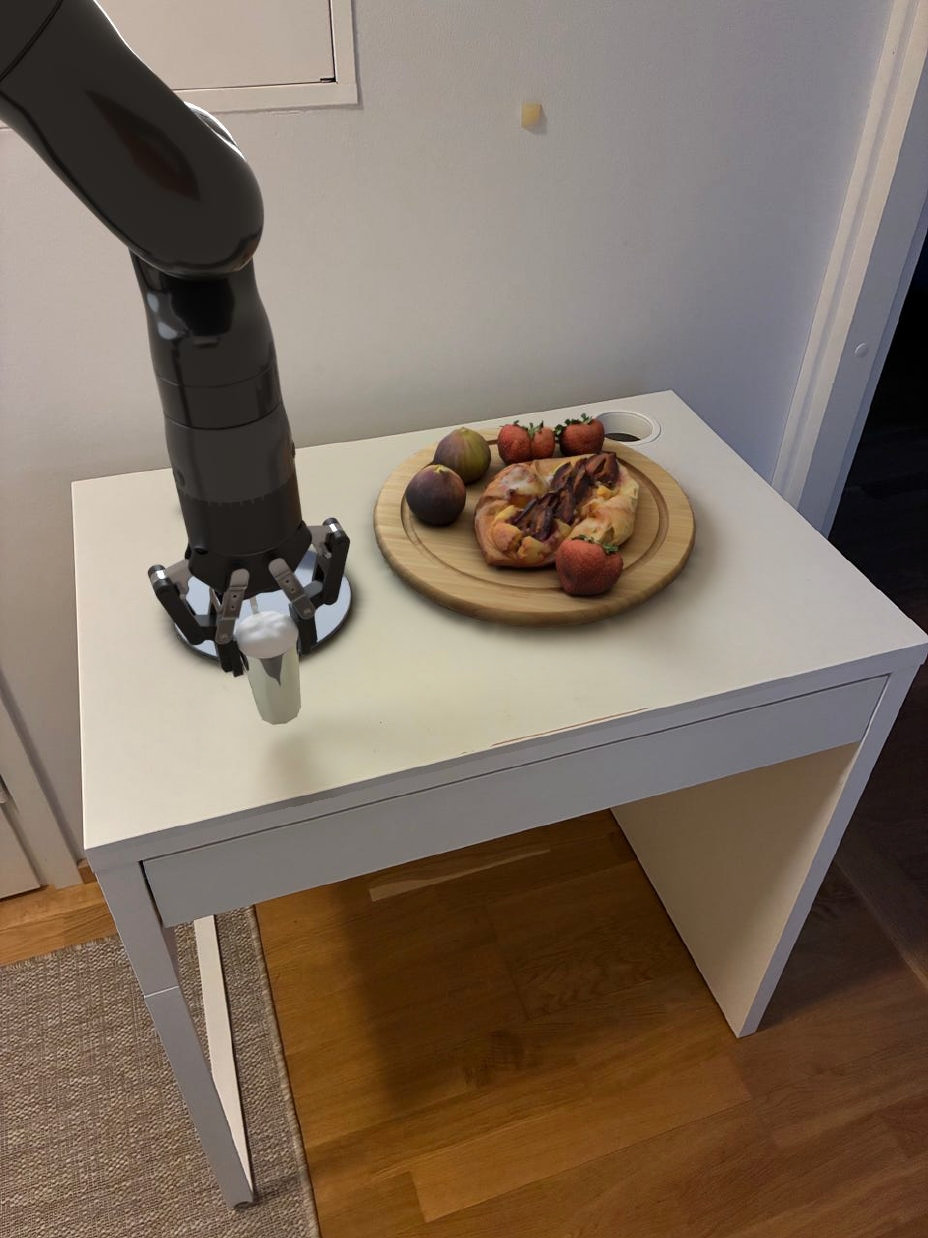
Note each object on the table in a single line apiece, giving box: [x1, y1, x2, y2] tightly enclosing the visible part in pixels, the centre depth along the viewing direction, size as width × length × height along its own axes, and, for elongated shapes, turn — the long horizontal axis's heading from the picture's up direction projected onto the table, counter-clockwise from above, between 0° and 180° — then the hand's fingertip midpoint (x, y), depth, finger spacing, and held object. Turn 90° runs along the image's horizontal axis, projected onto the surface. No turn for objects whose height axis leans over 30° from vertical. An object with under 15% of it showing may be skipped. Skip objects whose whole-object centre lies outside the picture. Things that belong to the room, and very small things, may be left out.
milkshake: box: [235, 596, 302, 726], centre depth 72 cm, size 4×5×10 cm
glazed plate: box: [173, 549, 352, 665], centre depth 87 cm, size 16×16×1 cm
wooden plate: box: [372, 412, 697, 627], centre depth 94 cm, size 32×32×8 cm
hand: (269, 657), depth 71 cm, fingers closed on milkshake, 4 cm apart
